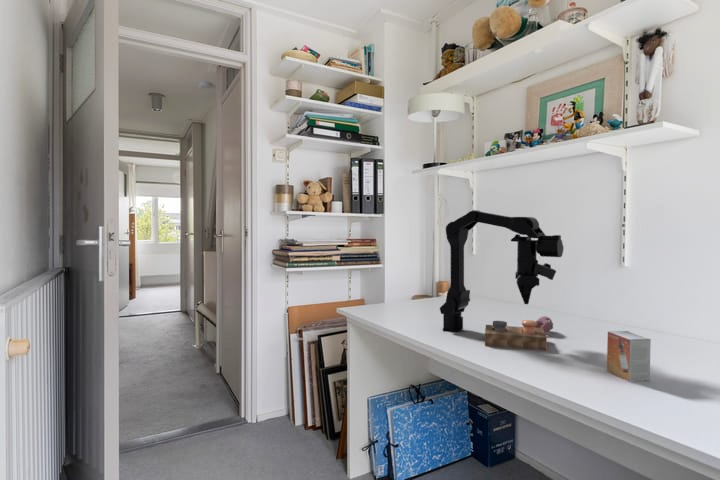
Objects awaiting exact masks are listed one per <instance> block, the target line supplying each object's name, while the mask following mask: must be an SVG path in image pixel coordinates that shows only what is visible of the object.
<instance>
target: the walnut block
mask: <svg viewBox="0 0 720 480" xmlns="http://www.w3.org/2000/svg"><path fill="white" fill-rule="evenodd" d="M547 338H548V337H547V335H546V334H545V333H544V330H543V328H535V334H531V333H523V326H512V325H511V326H510V325H507V326H506V332H502V331H494V326H493V324H486V325H485V329H484V346H485V347H496V348H497V347H499V348H509V349H510V348H511V349H522V350H532V351H533V350H535V351H547V349H548V347H547V346H548V345H547V343H548V341H547Z"/></svg>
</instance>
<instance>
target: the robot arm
mask: <svg viewBox="0 0 720 480" xmlns="http://www.w3.org/2000/svg"><path fill="white" fill-rule="evenodd" d="M478 223H481V224H485V225H491V226H496V227H499V228H500V227H501V228H505V229H507V230H509V231H511V232H513V233H516V234H515V235H514V237H512V238H511V239H510V242H515V243H516V242H517V253H516V254H517V258H516V264H517V265H516V267H517V268H516V271H515V279H516V282H515V283H516V286H517V288H518V290H519V293H520V295H521V297H522V301H523V303H524V305H529V301H530V298H531V294H532V292H533V289H534V288H536V287H539V286H540V278H539V276H541V277H545V278H547V279H548V280H551V281H554V278H555V276H556V275H555V274H556V273H557V270H556V269H554V268H552V267H551V266H552V265H551V264H549V263H546V262H545V263H544V264H541V263H539V261H538V259H537V254H538V255H540V256H539V257H547V258H562V256H563V255H564V245H563V240H562V236H561V234H556V235H555V234H554V235H547V234H545V232H544V231H543V230H542V229H541V227H540V223H539V221H538V219H537V218H535V217H534V216H508V215H507V216H506V215H501V214H496V213H490V212H483V211H480V210H473V209H472V210H470V211H468V212H466V214H464V215H462V216H461V217H459V218H457V219H455V220H454V221H450V222H449V223H448V224H447V225H446V226H445V236H446V241H447V242H448V244H449V246H450V286H449V288H448V290H447V292H446V298H445V302H444V303H443V304H442V305H441V306H440V307H439V312H440V314H441V315H443V320H442V321H443V327H442V332H443V331H447V332H458V333H459V332H461V331H462V330H463V329H464V317H463V316H462V313H464V312H465V308H467V307H468V306H469V303H470V302H471V298H470V296H471V295H470V294H471V291H470V289H466V286H465V245H466V242H467V240H468V235H469V231H471V230H472V229H473V228H474V227H476V225H477V224H478ZM521 235H523V236H521Z"/></svg>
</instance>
